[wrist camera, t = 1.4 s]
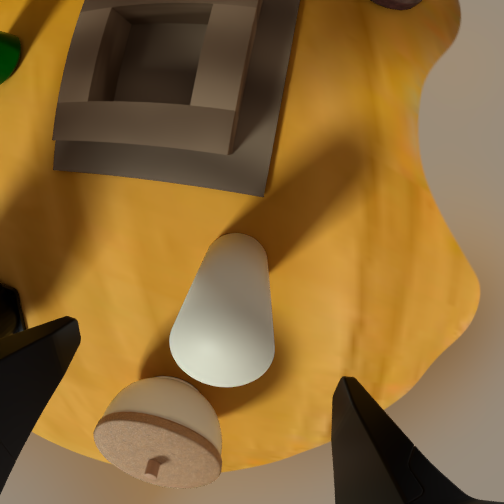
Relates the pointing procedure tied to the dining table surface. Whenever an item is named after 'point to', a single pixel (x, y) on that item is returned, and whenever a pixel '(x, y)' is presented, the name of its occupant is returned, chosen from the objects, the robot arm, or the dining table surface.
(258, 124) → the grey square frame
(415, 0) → the can
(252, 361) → the cream peg
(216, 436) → the lidded jar
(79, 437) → the dining table surface
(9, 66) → the soda can
